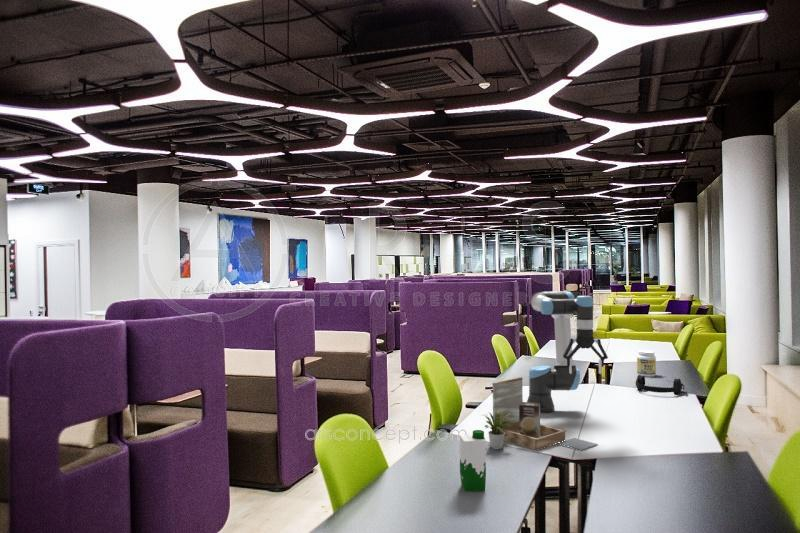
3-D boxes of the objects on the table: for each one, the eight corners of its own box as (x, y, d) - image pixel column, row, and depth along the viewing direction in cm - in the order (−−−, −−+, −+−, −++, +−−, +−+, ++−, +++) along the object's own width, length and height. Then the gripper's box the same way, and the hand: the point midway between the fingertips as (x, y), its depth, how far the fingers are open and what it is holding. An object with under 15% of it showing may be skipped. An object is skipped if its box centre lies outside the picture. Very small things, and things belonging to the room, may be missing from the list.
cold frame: (493, 436, 267) (492, 382, 267) (521, 428, 279) (520, 377, 279) (537, 450, 247) (536, 391, 247) (565, 440, 260) (564, 385, 260)
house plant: (491, 454, 242) (491, 415, 242) (472, 445, 254) (472, 408, 254) (518, 449, 248) (518, 411, 248) (498, 440, 260) (498, 404, 260)
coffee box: (518, 440, 261) (518, 404, 261) (520, 436, 267) (520, 401, 267) (539, 442, 258) (539, 406, 258) (540, 438, 264) (540, 402, 264)
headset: (675, 387, 368) (675, 374, 368) (693, 397, 342) (692, 382, 342) (630, 387, 370) (630, 373, 370) (643, 396, 344) (643, 381, 344)
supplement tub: (639, 376, 402) (639, 352, 402) (635, 373, 414) (635, 349, 414) (658, 377, 400) (657, 352, 400) (653, 374, 412) (653, 350, 412)
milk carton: (488, 492, 202) (487, 434, 202) (462, 493, 202) (462, 435, 202) (482, 482, 211) (482, 427, 211) (458, 483, 210) (457, 428, 210)
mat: (557, 444, 255) (557, 443, 255) (573, 439, 262) (573, 437, 262) (581, 451, 245) (581, 449, 245) (597, 445, 253) (597, 443, 253)
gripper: (558, 329, 272) (559, 374, 272) (614, 329, 268) (614, 375, 268) (556, 327, 279) (557, 371, 279) (610, 327, 276) (610, 372, 276)
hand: (585, 373), depth 274 cm, fingers open, 13 cm apart
